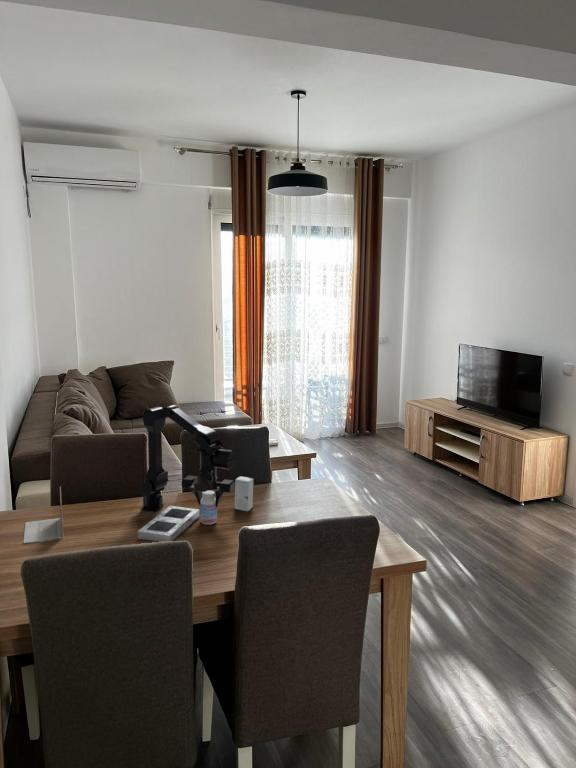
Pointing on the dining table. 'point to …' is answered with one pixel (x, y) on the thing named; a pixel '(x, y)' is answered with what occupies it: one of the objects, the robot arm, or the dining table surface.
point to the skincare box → (243, 493)
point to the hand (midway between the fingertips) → (208, 506)
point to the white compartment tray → (168, 524)
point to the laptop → (44, 529)
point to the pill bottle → (208, 508)
